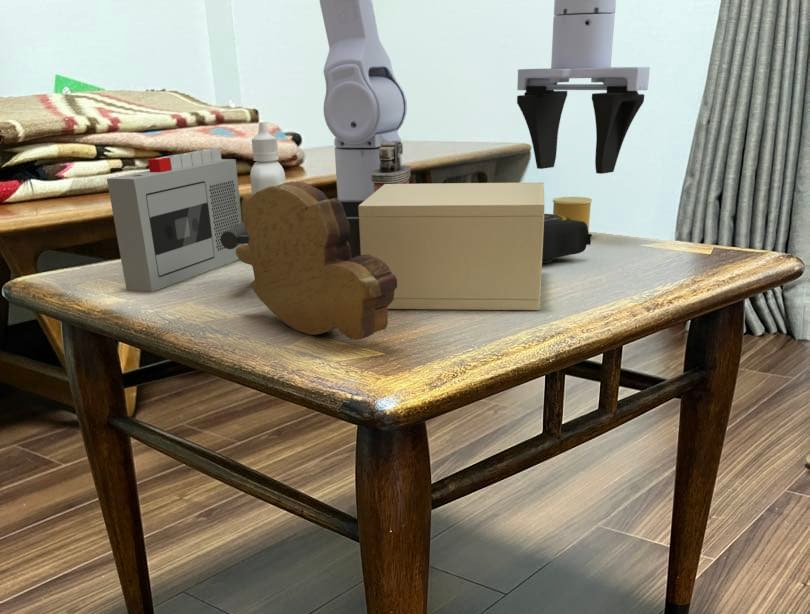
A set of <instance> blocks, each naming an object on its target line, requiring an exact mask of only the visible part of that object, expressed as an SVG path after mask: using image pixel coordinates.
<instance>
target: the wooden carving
mask: <svg viewBox="0 0 810 614" xmlns="http://www.w3.org/2000/svg"><path fill="white" fill-rule="evenodd" d="M241 214H242V222H244V225H245V228H246V230H247V233H248V236H249V244H245V245H243V246H240V247H238V248H237V249H236V255H237V257H238V258H239V261H240V262H242V263H244V264H246V265H251V267H252V270H253V271H252V272H253V277H254V279H253V281H252V283H251V285H250V287H251V289H252V291H253V293H254V294H255V295H256V297H257V298H258V299H259V300H260V301H261V302H262V303H263V304H264V306H266V307H267V308H268V309H269V311H271V313H273V314H274V316H275V317H277V318H278V319H279V320H280V321H281V322H282V323H284V324H285V325H286V326H289V327H290V328H291V329H293V330H295V331H297V332H300V333H303V334H307V335H310V336H311V335H312V336H316V335H321V334H324V333H327V332H329V331H331V330H334V329H336V330H338V331H339V332H340V333H341V334H343V335H344V336H345V337H347V338H348V339H353V340H363V339H366V338H368V337H370V336H372V335H374V333H377V332H380V331H383V330H385V329H386V328H387V327H388V324H389V319H388V317H389V313H388V311H389V309H387V308H388V305H389V304H391V303H392V301H393V299H394V292H395V289H396V288H397V279H396V277H395V275H394V274H392V272H391V270H390V268H389V267H388V265H387V264H386V263H384V262H383V261H382V260H380V259H379V258H377V257H373V256H371V255H360V256H356V257H354V258H352V255H351V252H350V250H351V248H350V245H349V243H348V241H347V240H348V239H349V237H350V226H349V222H348V220H347V217H346V214H345V211H344V208H343V206H342V204H341V202H340V201H339V199H338V197H333V198H328V196H326V194H325V193H324V192H323V191H322V190H320V189H318V188H317V187H315V186H313V185H311V184H309V183H306V182H304V181H294V180H293V181H288V182H287V181H286V183H283V184H280V185H276V186H271V187H267V188H265V189H262V190H260V191H258V192H256V193H255V194H252V193H247V194H243V195H242V200H241Z"/></svg>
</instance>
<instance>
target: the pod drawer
mask: <svg viewBox="0 0 810 614" xmlns="http://www.w3.org/2000/svg"><path fill="white" fill-rule="evenodd" d="M339 201H340V202H341V204H342V206H343V208H344V211H345V214H346V217H347V220H348V222H349V226H350V237H349V239H348V240H347V241H348V243H349V245H350V248H351V250H350V252H351V255H352V258H354V257H356V256H360V255H361V250H360V229H359V209H358V206H359V205H360V204H361V203H362V202H364V201H365V200H339ZM221 243H222V245H223V246H224V247H225V248H227V249H234V248H235V247H237V246H238V245H240V244H249V236H248V233H247V230H246V228H245V225H244V221H242V223H240V224H238V225H236V226H235V227H233V228H231V229H229V230H227V231H226V232H224V233H223V234H222V235H221Z"/></svg>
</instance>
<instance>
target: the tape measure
mask: <svg viewBox="0 0 810 614" xmlns="http://www.w3.org/2000/svg"><path fill="white" fill-rule="evenodd" d="M589 231H590V230H589ZM589 231H588V227H587V224H586V223H585V222H583V221H576V220H571V219H569V218H567V217H565V216H561V215H555V214H553V213H544V230H543V250H542V263H546V264H549V263H551V262H552V261H553V260H554V259H557V258H562V257H566V256H572V255H578V254H581V253H583V252H584V251H585V250H586V249H587V246H590V245H591V243H592V239H591V238H592V236H593V233H588V232H589Z"/></svg>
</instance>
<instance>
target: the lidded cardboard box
mask: <svg viewBox="0 0 810 614" xmlns="http://www.w3.org/2000/svg"><path fill="white" fill-rule="evenodd" d="M545 202H546V200H545V183H544V182H457V183H456V182H453V183H452V182H451V183H448V182H447V183H445V182H443V183H440V182H439V183H409V184H384V185H383V186H382V187H381V188H379V189H378V190H377V191H376V192H375V193H373V194H372V195H371V196H370V197H368V198H367V199H366V200H365V201H364V202H362V203H361V204H360V205H359V206H358V209H359V229H360V250H361V255H371V256H373V257H377V258H379V259H380V260H382V261H383V262H384V263H386V264H387V265H388V267H389V268H390V270H391V272H392V274H394V275H395V277H396V279H397V288H396V289H395V292H394V299H393V301H392V303H391V304H389V305H388V308H387V309H388V310H451V311H452V310H455V311H456V310H460V311H461V310H462V311H465V310H466V311H467V310H468V311H469V310H471V311H473V310H474V311H540V309H541V291H542V290H541V288H542V287H541V286H542V270H543V269H542V268H543V262H542V250H543V230H544V214H545V208H546V203H545Z"/></svg>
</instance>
